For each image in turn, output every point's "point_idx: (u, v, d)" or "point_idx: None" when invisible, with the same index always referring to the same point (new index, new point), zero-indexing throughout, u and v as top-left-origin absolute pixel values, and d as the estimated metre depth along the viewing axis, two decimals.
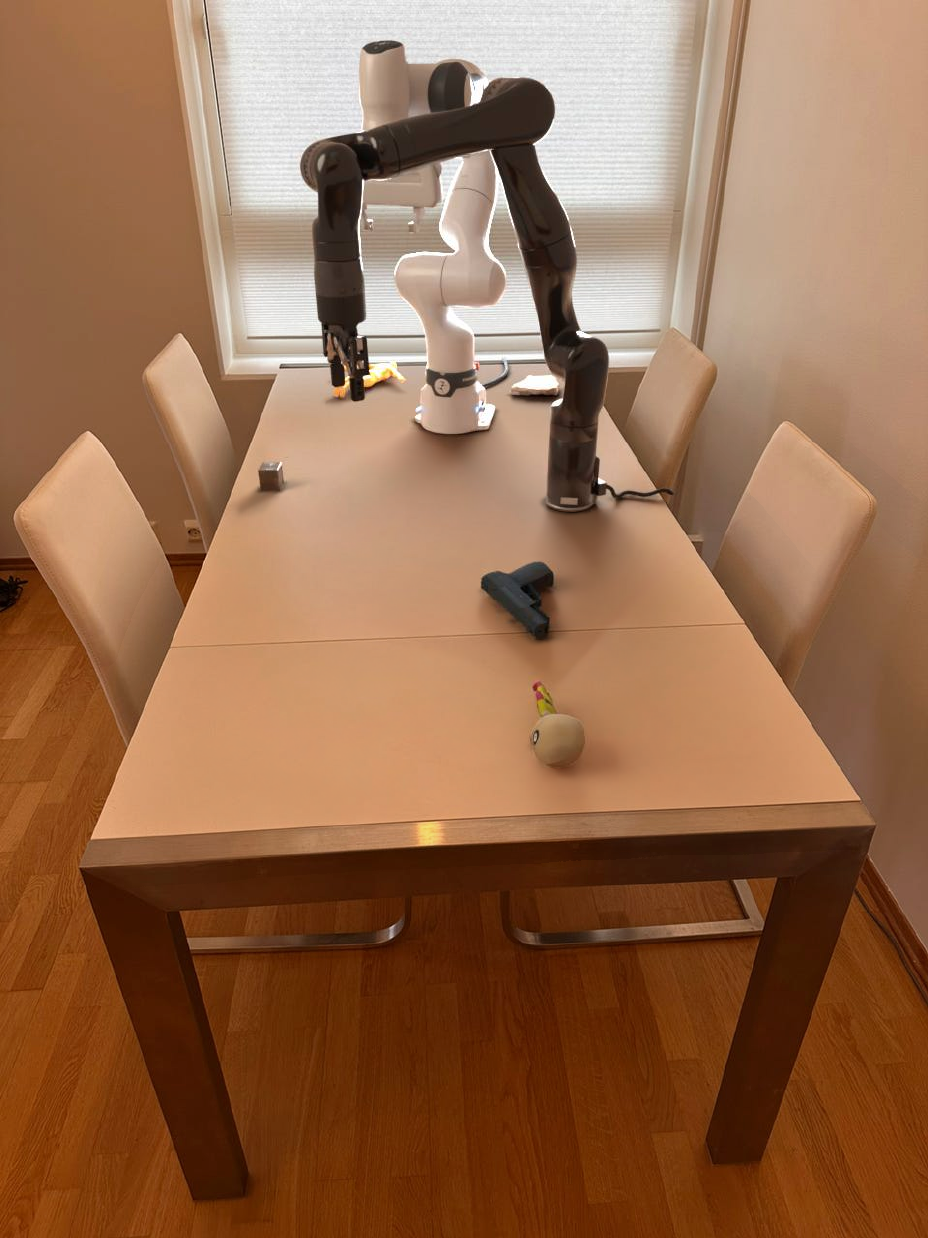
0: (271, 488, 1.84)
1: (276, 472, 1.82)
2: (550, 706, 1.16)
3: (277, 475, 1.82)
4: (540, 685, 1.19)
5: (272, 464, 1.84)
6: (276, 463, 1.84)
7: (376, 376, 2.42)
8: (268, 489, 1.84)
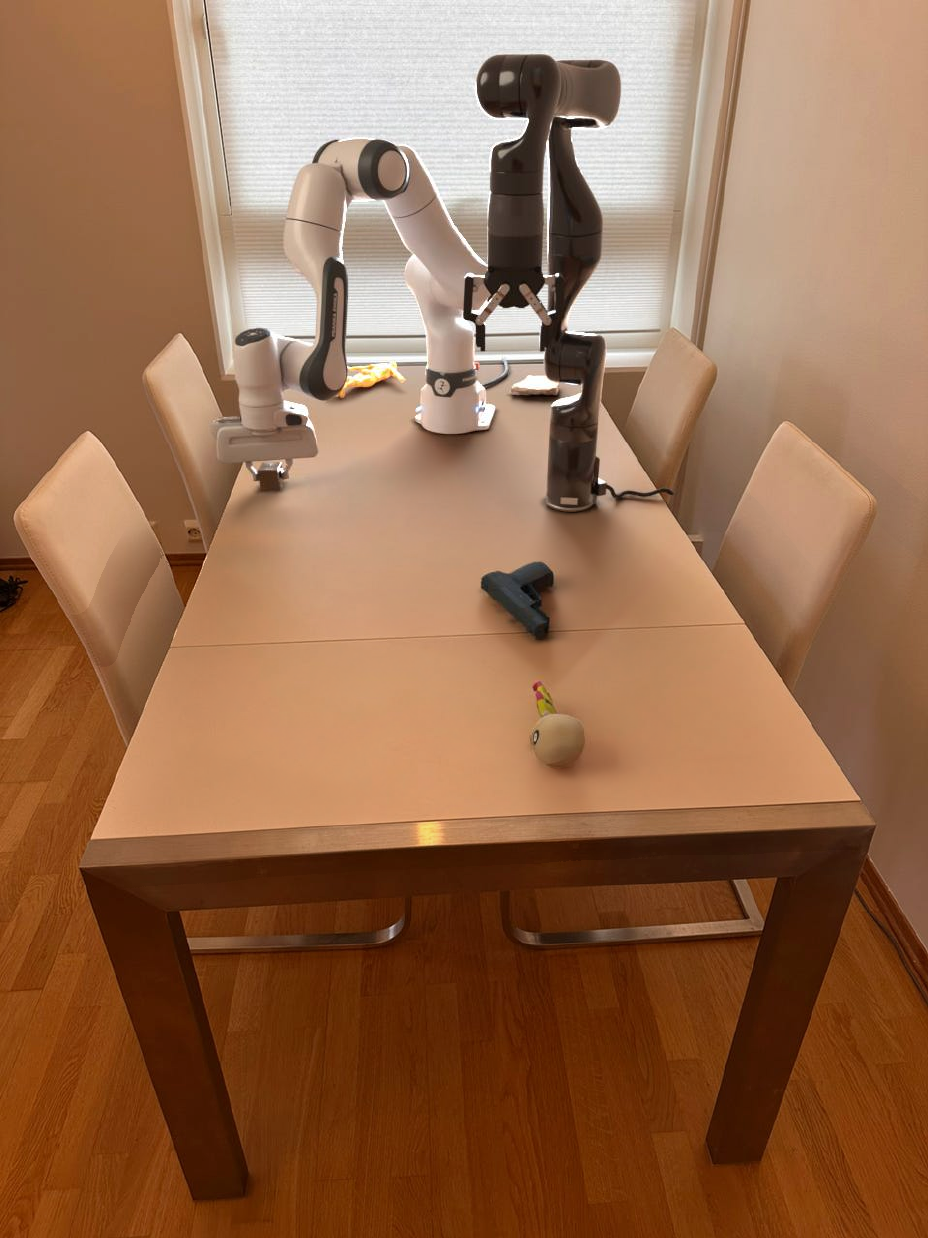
0: (271, 488, 1.84)
1: (276, 472, 1.82)
2: (550, 706, 1.16)
3: (277, 475, 1.82)
4: (540, 685, 1.19)
5: (271, 465, 1.84)
6: (275, 463, 1.84)
7: (376, 376, 2.42)
8: (268, 489, 1.84)
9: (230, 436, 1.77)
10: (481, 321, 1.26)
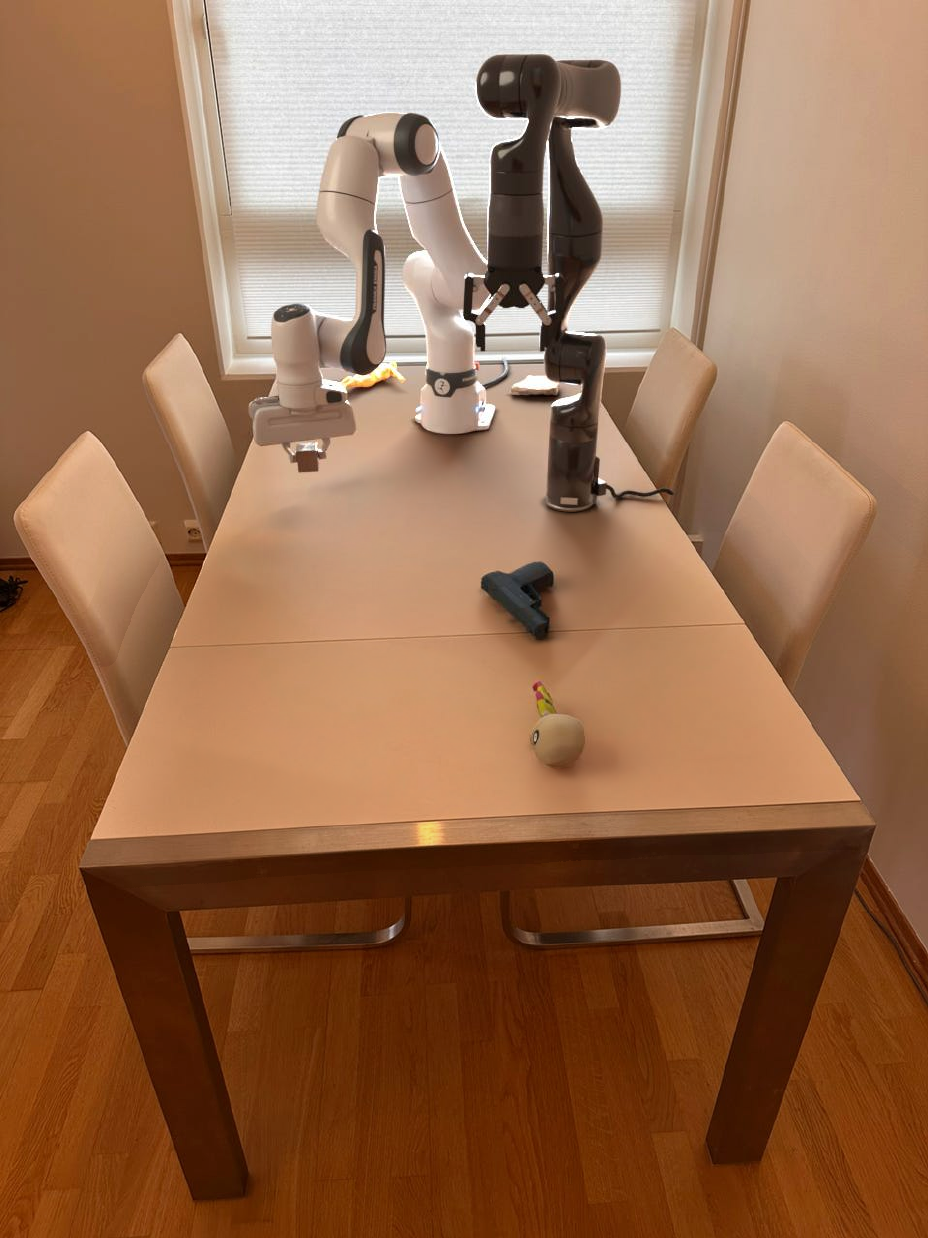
0: (309, 469, 1.80)
1: (315, 452, 1.78)
2: (550, 706, 1.16)
3: (316, 455, 1.78)
4: (540, 685, 1.19)
5: (308, 445, 1.80)
6: (311, 443, 1.80)
7: (376, 376, 2.42)
8: (306, 470, 1.80)
9: (269, 417, 1.72)
10: (481, 321, 1.26)
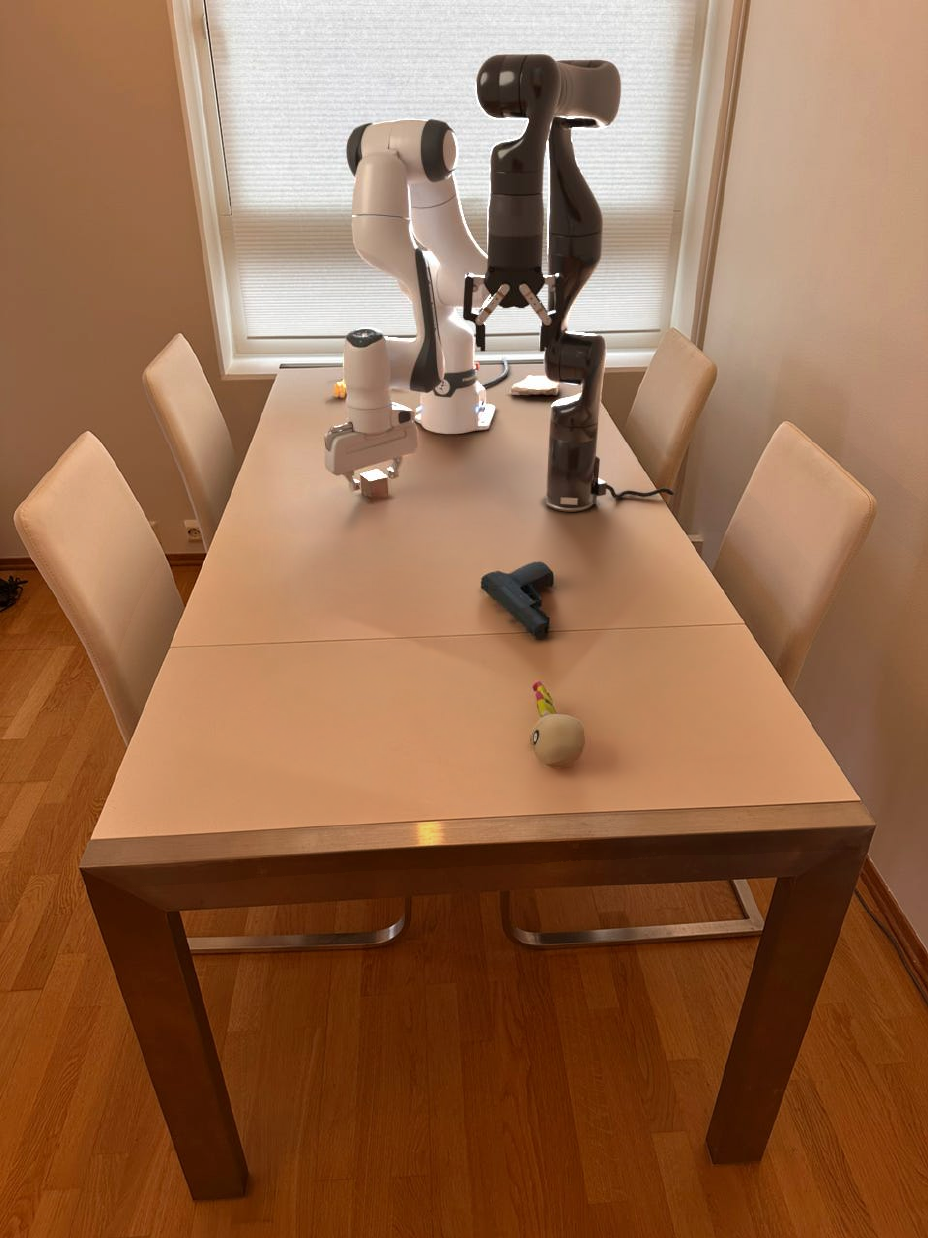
0: (381, 496, 1.80)
1: (386, 479, 1.78)
2: (550, 706, 1.16)
3: (386, 481, 1.79)
4: (540, 685, 1.19)
5: (373, 473, 1.80)
6: (375, 471, 1.80)
7: None
8: (378, 498, 1.80)
9: (346, 444, 1.70)
10: (481, 321, 1.26)
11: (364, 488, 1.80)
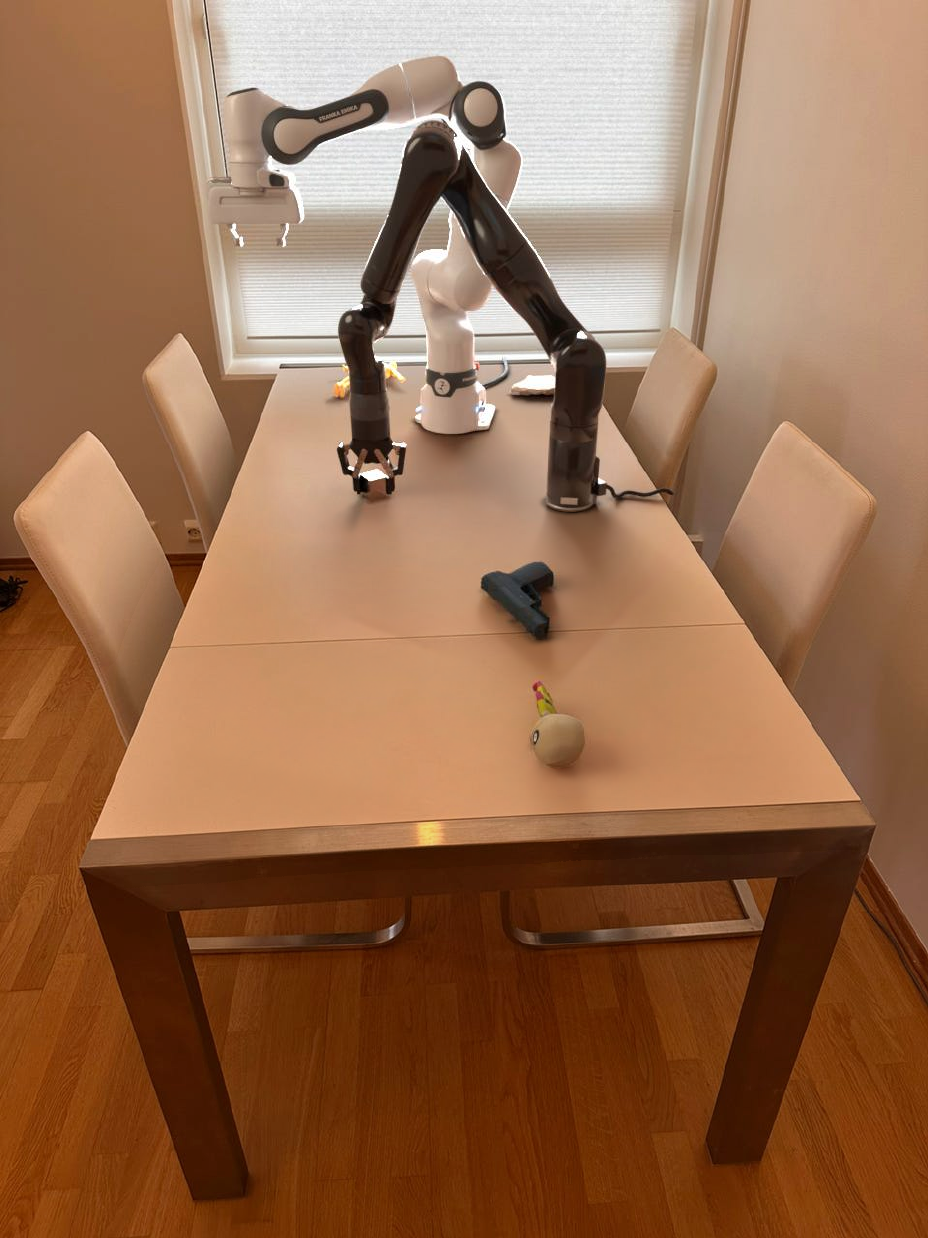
0: (381, 496, 1.80)
1: (386, 479, 1.78)
2: (550, 706, 1.16)
3: (386, 481, 1.79)
4: (540, 685, 1.19)
5: (373, 473, 1.80)
6: (375, 471, 1.80)
7: None
8: (378, 498, 1.80)
9: (220, 195, 1.90)
10: (356, 475, 1.78)
11: (364, 488, 1.80)
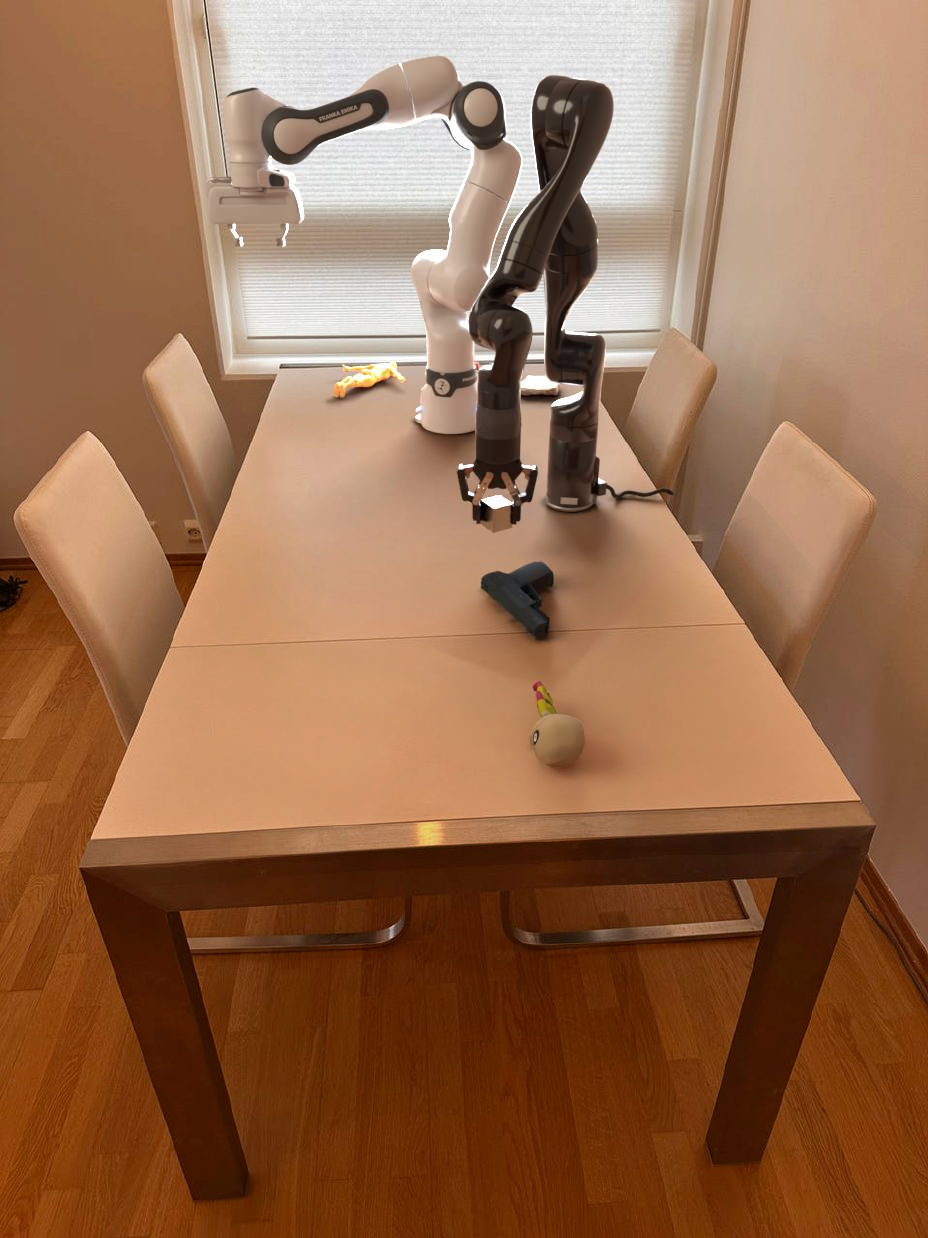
0: (504, 527, 1.54)
1: (512, 506, 1.53)
2: (550, 706, 1.16)
3: (512, 510, 1.54)
4: (540, 685, 1.19)
5: (496, 500, 1.54)
6: (497, 497, 1.55)
7: (376, 376, 2.42)
8: (501, 529, 1.54)
9: (220, 195, 1.90)
10: (477, 502, 1.52)
11: (485, 516, 1.54)
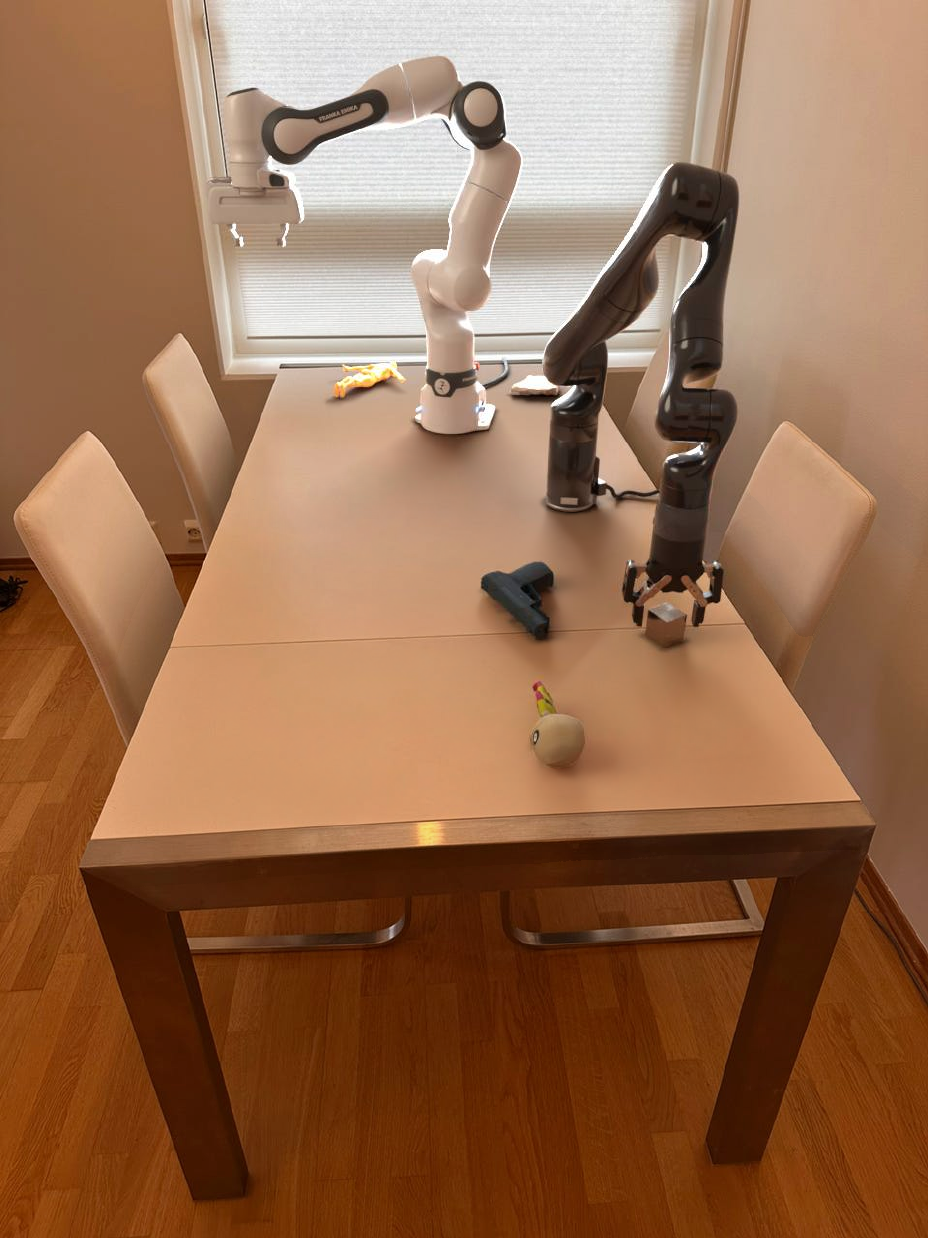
0: (675, 640, 1.35)
1: (685, 618, 1.33)
2: (550, 706, 1.16)
3: (685, 621, 1.34)
4: (540, 685, 1.19)
5: (666, 609, 1.35)
6: (666, 606, 1.35)
7: (376, 376, 2.42)
8: (672, 643, 1.35)
9: (220, 195, 1.90)
10: (641, 603, 1.32)
11: (653, 628, 1.35)
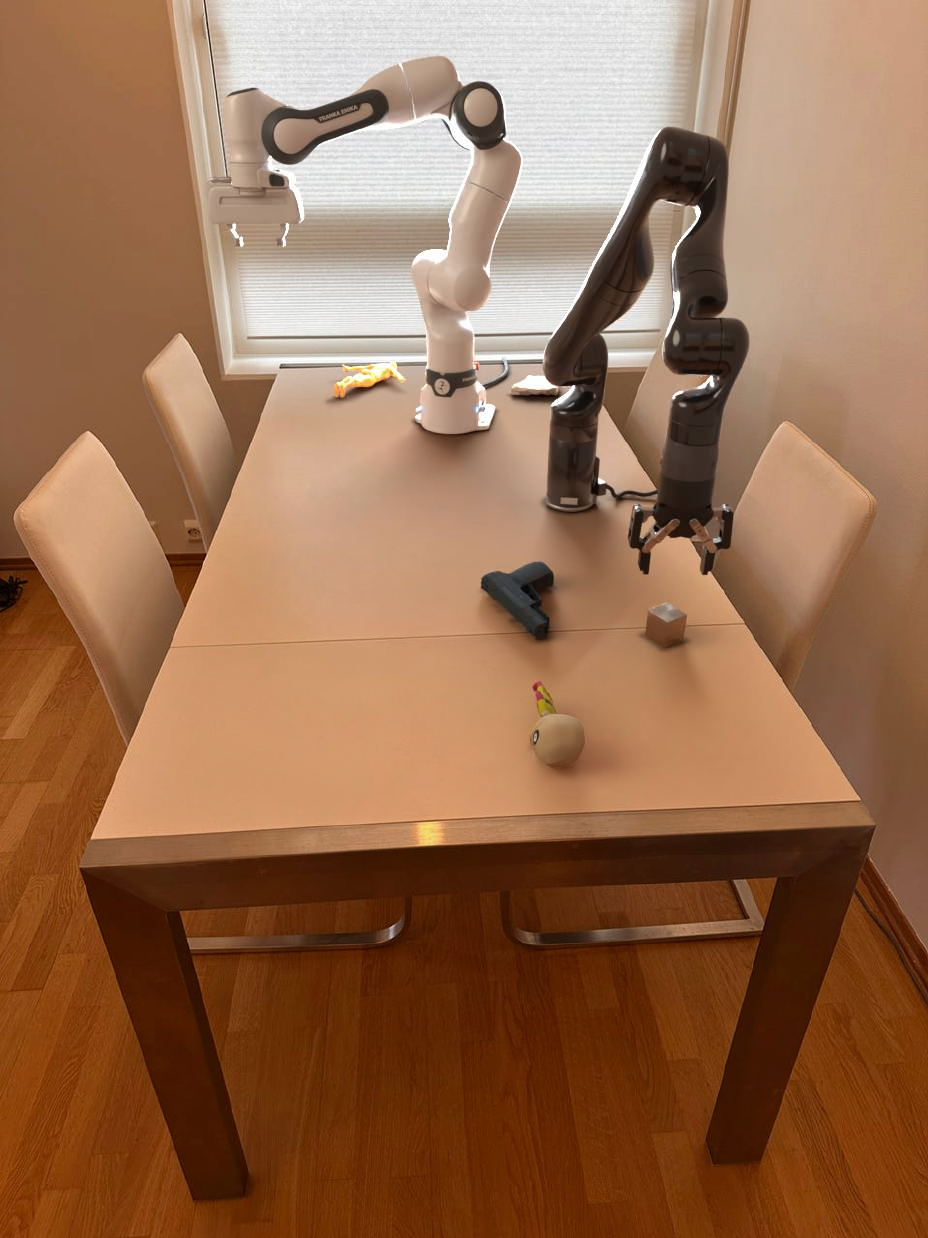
0: (675, 640, 1.35)
1: (685, 618, 1.33)
2: (550, 706, 1.16)
3: (685, 621, 1.34)
4: (540, 685, 1.19)
5: (666, 609, 1.35)
6: (666, 606, 1.35)
7: (376, 376, 2.42)
8: (672, 643, 1.35)
9: (220, 195, 1.90)
10: (647, 549, 1.27)
11: (653, 628, 1.35)
